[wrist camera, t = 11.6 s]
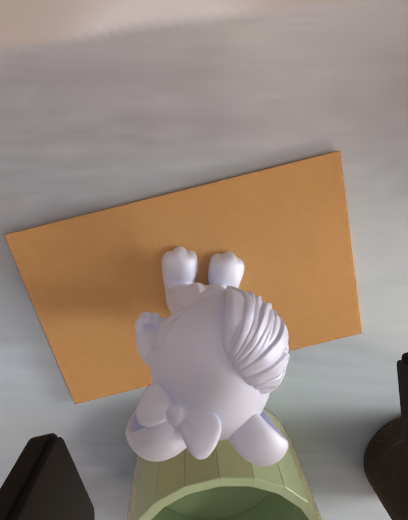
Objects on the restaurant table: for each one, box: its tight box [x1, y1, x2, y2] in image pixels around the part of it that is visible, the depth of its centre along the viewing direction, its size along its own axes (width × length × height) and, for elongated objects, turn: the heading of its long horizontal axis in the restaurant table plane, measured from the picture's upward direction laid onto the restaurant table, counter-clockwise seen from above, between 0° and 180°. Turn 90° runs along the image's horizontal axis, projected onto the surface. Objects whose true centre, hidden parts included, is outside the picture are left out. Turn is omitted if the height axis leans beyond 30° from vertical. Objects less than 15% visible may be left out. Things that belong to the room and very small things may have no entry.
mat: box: [4, 151, 362, 404], centre depth 21 cm, size 20×12×1 cm, turn 104°
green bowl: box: [127, 408, 322, 520], centre depth 22 cm, size 12×12×6 cm
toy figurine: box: [126, 246, 290, 466], centre depth 15 cm, size 7×6×12 cm
